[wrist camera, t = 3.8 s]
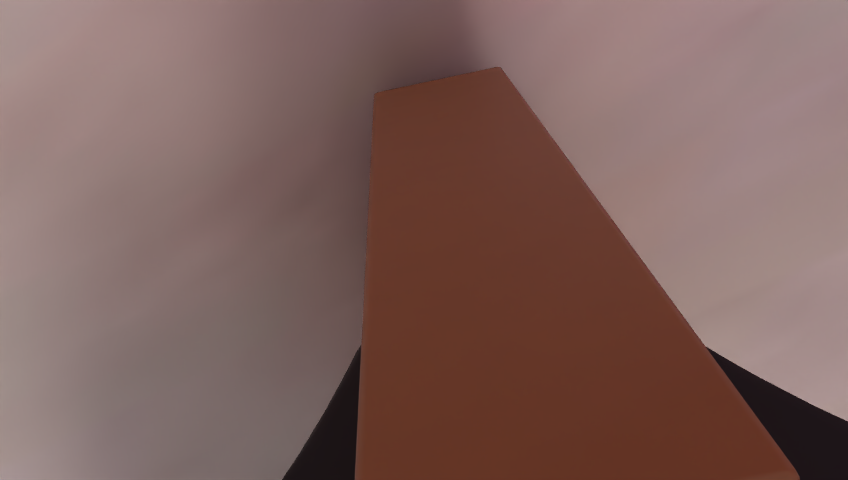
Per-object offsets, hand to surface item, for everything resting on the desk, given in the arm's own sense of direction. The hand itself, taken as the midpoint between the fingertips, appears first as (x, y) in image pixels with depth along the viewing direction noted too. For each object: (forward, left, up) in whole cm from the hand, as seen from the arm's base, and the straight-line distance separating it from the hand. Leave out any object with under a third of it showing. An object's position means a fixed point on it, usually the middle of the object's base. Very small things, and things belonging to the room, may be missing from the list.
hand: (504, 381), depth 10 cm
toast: (0, 0, -3) cm, 3 cm away
